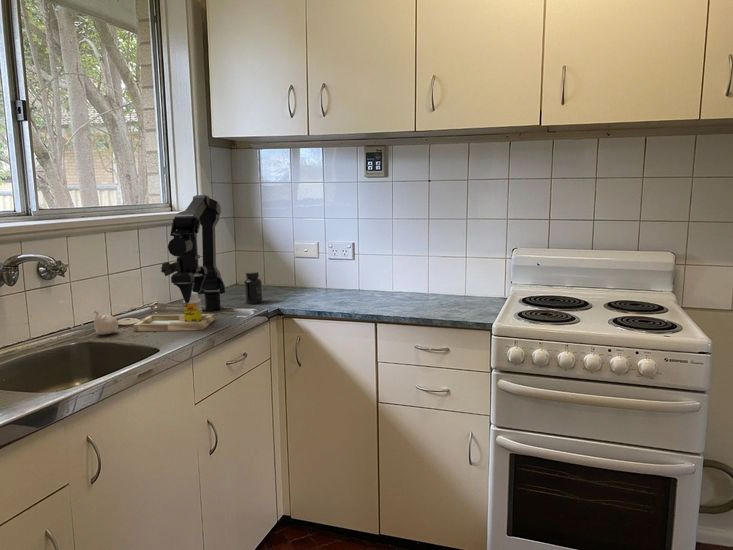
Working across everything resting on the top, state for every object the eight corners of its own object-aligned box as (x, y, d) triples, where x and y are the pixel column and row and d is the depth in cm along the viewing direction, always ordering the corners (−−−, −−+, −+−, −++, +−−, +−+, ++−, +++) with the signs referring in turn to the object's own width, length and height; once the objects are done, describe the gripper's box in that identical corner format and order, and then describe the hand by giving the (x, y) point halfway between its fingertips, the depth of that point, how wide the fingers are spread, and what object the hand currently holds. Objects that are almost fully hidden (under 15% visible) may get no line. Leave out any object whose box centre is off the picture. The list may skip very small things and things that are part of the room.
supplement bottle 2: (260, 300, 220) (258, 270, 218) (265, 303, 214) (263, 272, 212) (243, 302, 217) (241, 272, 215) (247, 305, 211) (245, 274, 209)
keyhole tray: (150, 320, 189) (150, 314, 189) (214, 319, 189) (214, 313, 189) (133, 331, 175) (133, 325, 175) (202, 330, 175) (202, 323, 175)
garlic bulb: (101, 331, 176) (99, 307, 174) (122, 331, 176) (119, 306, 174) (92, 337, 169) (89, 311, 168) (112, 336, 169) (110, 311, 168)
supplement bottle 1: (181, 325, 181) (178, 294, 179) (192, 321, 186) (190, 291, 184) (195, 326, 179) (192, 295, 177) (205, 322, 184) (203, 292, 182)
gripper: (173, 250, 187) (176, 295, 190) (152, 256, 169) (156, 306, 171) (206, 249, 187) (209, 294, 190) (188, 256, 169) (192, 306, 171)
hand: (191, 300), depth 181 cm, fingers open, 9 cm apart
